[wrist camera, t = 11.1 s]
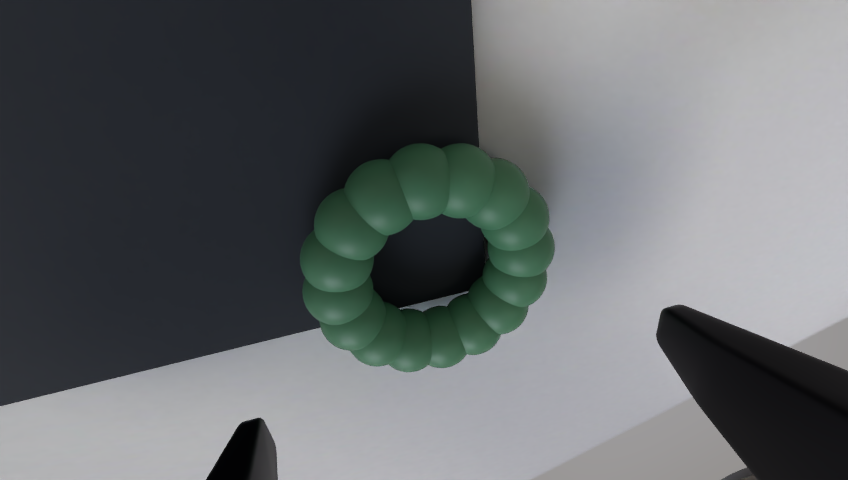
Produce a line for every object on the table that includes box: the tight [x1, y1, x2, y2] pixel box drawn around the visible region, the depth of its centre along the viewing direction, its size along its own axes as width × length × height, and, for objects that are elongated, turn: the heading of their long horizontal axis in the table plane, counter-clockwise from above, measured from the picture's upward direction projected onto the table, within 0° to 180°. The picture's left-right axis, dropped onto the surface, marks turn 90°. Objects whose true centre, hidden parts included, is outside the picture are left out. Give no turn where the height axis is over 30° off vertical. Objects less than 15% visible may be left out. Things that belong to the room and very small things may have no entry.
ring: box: [300, 143, 555, 372], centre depth 13 cm, size 8×8×2 cm
